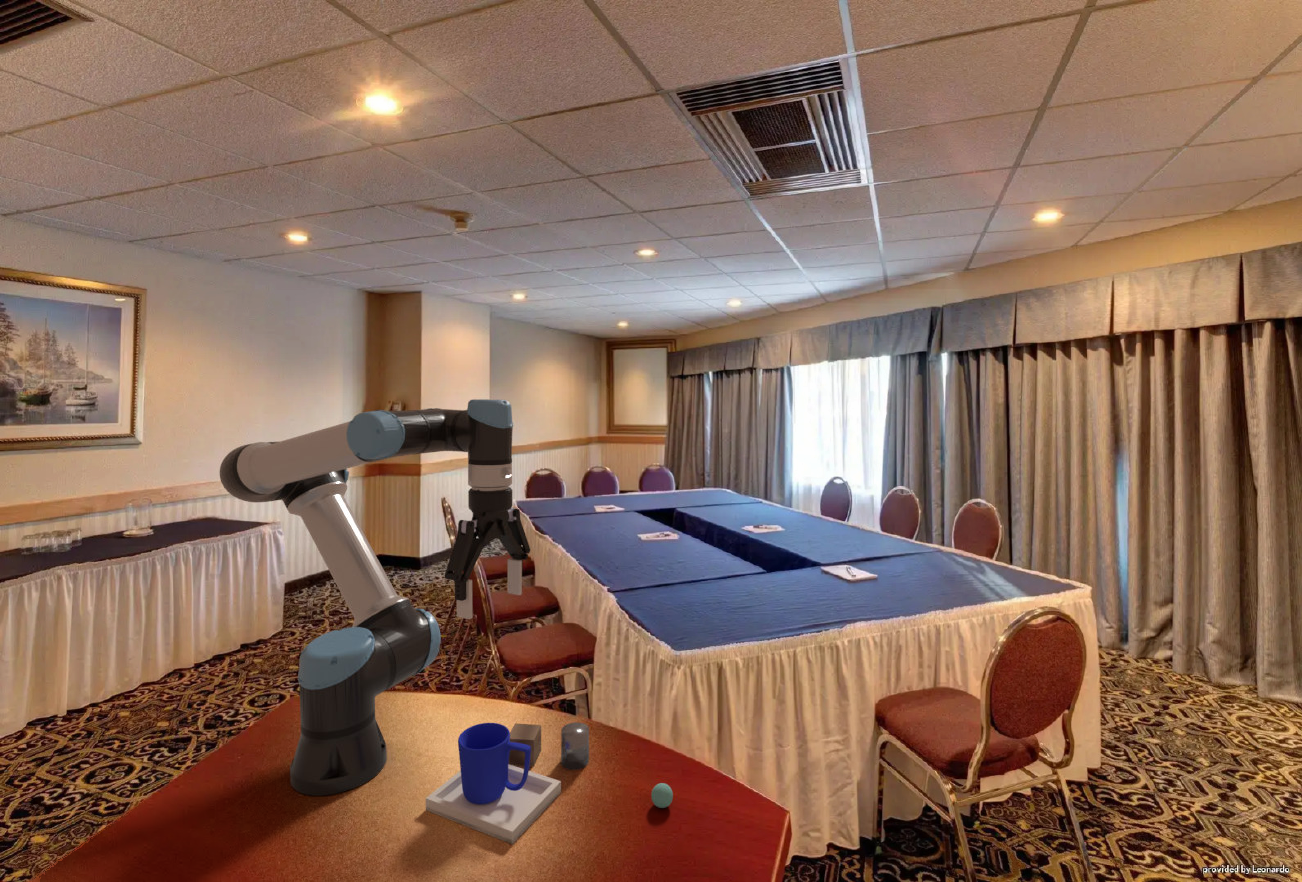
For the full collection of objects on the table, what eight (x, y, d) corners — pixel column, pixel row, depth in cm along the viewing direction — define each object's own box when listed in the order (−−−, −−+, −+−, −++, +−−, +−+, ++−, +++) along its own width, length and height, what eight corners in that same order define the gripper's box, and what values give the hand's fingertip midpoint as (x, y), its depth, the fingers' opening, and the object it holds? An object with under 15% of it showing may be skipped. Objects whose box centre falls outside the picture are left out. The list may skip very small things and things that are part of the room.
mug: (519, 818, 95) (519, 756, 94) (448, 806, 97) (448, 746, 96) (539, 785, 103) (539, 728, 102) (473, 775, 105) (473, 719, 104)
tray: (425, 809, 97) (425, 798, 97) (480, 765, 109) (480, 754, 109) (512, 844, 90) (512, 831, 90) (560, 792, 102) (560, 781, 102)
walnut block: (506, 765, 109) (506, 738, 109) (515, 748, 114) (515, 723, 114) (533, 766, 109) (533, 740, 109) (541, 750, 114) (541, 724, 114)
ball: (647, 808, 98) (648, 788, 98) (656, 796, 101) (656, 776, 101) (667, 815, 97) (668, 794, 97) (675, 802, 100) (676, 781, 100)
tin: (555, 765, 109) (555, 733, 109) (570, 750, 114) (570, 719, 113) (579, 772, 107) (579, 740, 107) (593, 757, 112) (594, 726, 111)
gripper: (457, 499, 94) (458, 633, 96) (548, 480, 117) (548, 588, 118) (420, 495, 97) (422, 624, 99) (516, 477, 120) (516, 582, 122)
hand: (491, 605), depth 109 cm, fingers open, 13 cm apart
